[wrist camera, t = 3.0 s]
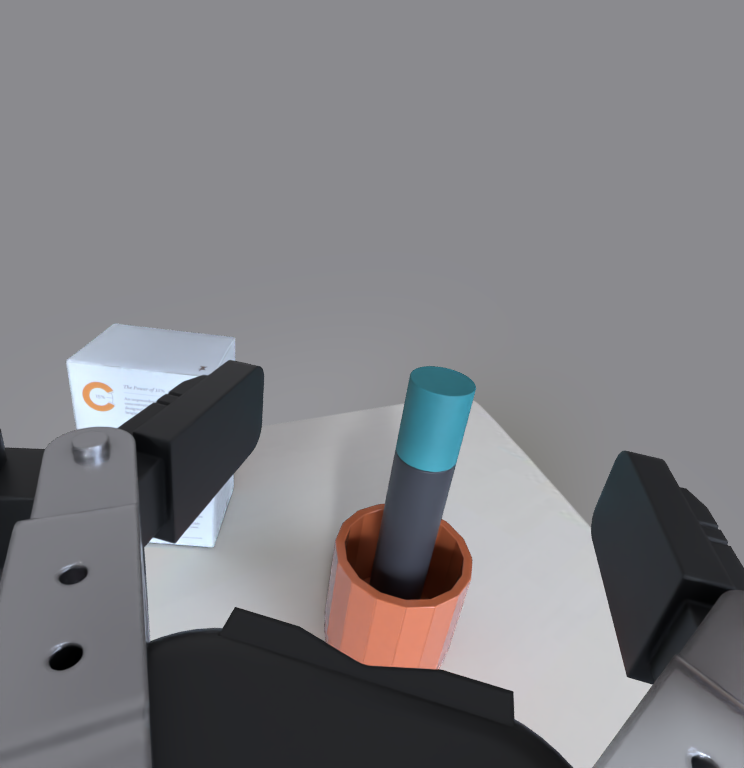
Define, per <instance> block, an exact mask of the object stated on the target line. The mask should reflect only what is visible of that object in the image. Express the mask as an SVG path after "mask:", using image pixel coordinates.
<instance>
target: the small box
mask: <svg viewBox="0 0 744 768" xmlns="http://www.w3.org/2000/svg"><path fill="white" fill-rule="evenodd" d="M228 360H234V361H235V338H234V337H228V336H219V335H210V334H202V333H193V332H184V331H175V330H166V329H157V328H148V327H139V326H132V325H123V324H116V323H115V324H113V325H111V326H110V327H109V328H108V329H106V330H105V331H104V332H102V333H101V334H100V335H99V336H97V337H96V338H95V339H93V340H92V341H91V342H90V343H88V344H87V345H86V346H84V347H83V348H82V349H81V350H79V351H78V352H76V353H75V354H74V355H73V356H71V357H70V358H69V359H67V360H66V365H67V370H68V377H69V383H70V389H71V397H72V404H73V411H74V418H75V425H76V430H78V429H82V428H88V427H100V426H101V427H114V428H118V427H119V426H121V425H122V424H124V423H125V422H126V421H128V420H129V419H131V418H132V417H133V416H135V415H136V414H138V413H139V412H141V411H142V410H143V409H145V408H146V407H148V406H149V405H150V404H152V403H153V402H154V403H156V401H157V400H158V399H159V398H160V397H162V396H163V395H165V394H168V393H169V391H170V390H172V389H173V388H175V387H176V386H177V385H179V384H180V383H182V382H183V381H186V380H189V379H192V378H195V377H198V376H201V375H209V374H211V373H212V372H213V371H215V370H216V369H217V368H219V367H220V366H221V365H223V364H224V363H225V362H227V361H228ZM233 487H234V474H233V475H232V476H231V478H230V479H229V480H228V481H227V482H226V484H225V485H224V486H223V487H222V488H221V490H220V491H219V492H218V493H217V494H216V496H215V497H214V498H213V499H212V500H211V502H210V503H209V504H208V505H207V506H206V508H205V509H204V510H203V511H202V512H201V514H200V515H199V516H198V517H197V518H196V520H195V521H194V522H193V523H192V524H191V525H190V527H189V528H188V529H187V530H186V531H185V533H184V534H183V535H182V536H181V537H180V539H179V540H178V541H177V542H176V543H175V544H178V545H190V546H204V547H214V545H215V542H216V539H217V536H218V533H219V530H220V527H221V524H222V521H223V518H224V515H225V512H226V509H227V506H228V503H229V500H230V497H231V494H232V492H233ZM149 542H150V543H163V544H173V543H170V542H167V541H163V540H160V539H156V538H152V539H151V540H150V541H149Z"/></svg>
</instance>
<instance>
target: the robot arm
mask: <svg viewBox="0 0 744 768" xmlns="http://www.w3.org/2000/svg"><path fill="white" fill-rule="evenodd" d="M263 390H264V372H263V369H262V368H261V367H260V366H256V365H251V364H247V363H242V362H237V361H234V360H228V361H227V362H225V363H224V364H223V365H221V366H220V367H219V368H217V369H216V370H215V371H213V372H212V373H211V374H209V375H201V376H198V377H195V378H192V379H189V380H186V381H183V382H182V383H180V384H179V385H177V386H176V387H175V388H173V389H172V390H170V391H169V393H168V394H165V395H163V396H162V397H160V398H159V399H158V400H157V401H156V403H154V402H153V403H152V404H150V405H149V406H148V407H146V408H145V409H143V410H142V411H141V412H139V413H138V414H136V415H135V416H133V417H132V418H131V419H129V420H128V421H126V422H125V423H124V424H122V425H121V426H119V427H118V428H114V427H101V426H100V427H88V428H82V429H78V430H74V431H71V432H68V433H66V434H63V435H61V436H60V437H57V438H56V439H55V440H53V441H52V442H51V443H50V444H49V445H48V446H47V447H46V449H28V448H27V449H26V448H5V447H4V442H3V438H2V433H1V429H0V768H573V767H572V766H571V765H570V764H569V763H568V762H567V761H566V760H565V759H564V758H563V757H562V756H561V755H560V753H559V752H557V751H556V750H555V749H554V748H553V747H552V746H551V745H549V744H548V743H547V742H546V741H545V740H544V739H543V738H541V737H540V736H539V735H537V734H536V733H535V732H533V731H532V730H531V729H529V728H528V727H526V726H525V725H523V724H522V723H520V722H518V721H517V720H515V719H514V698H513V691H510V690H506V689H503V688H500V687H497V686H493V685H490V684H487V683H483V682H480V681H477V680H473V679H470V678H467V677H464V676H460V675H457V674H454V673H450V672H447V671H444V670H440V669H422V668H404V667H386V666H370V665H365V664H362V663H360V662H358V661H356V660H354V659H353V658H351V657H349V656H348V655H346V654H344V653H343V652H341V651H339V650H338V649H336V648H334V647H333V646H331V645H329V644H328V643H326V642H324V641H323V640H321V639H319V638H318V637H316V636H314V635H313V634H311V633H309V632H308V631H306V630H304V629H303V628H301V627H299V626H296V625H293V624H289V623H286V622H283V621H280V620H276V619H273V618H270V617H266V616H263V615H260V614H257V613H253V612H250V611H247V610H243V609H240V608H237V607H235V608H234V610H233V612H232V613H231V615H230V617H229V618H228V620H227V622H226V624H225V625H224V627H223V628H207V629H195V630H189V631H183V632H178V633H175V634H171V635H167V636H164V637H160V638H158V639H155V640H153V641H150V629H149V614H148V598H147V582H146V566H145V552H144V547H145V546H146V545H147V544H148V543H149V541H150V540H151V539H152V538H156V539H160V540H163V541H167V542H170V543H173V544H175V543H176V542H177V541H178V540H179V539H180V537H181V536H182V535H183V534H184V533H185V531H186V530H187V529H188V528H189V527H190V525H191V524H192V523H193V522H194V521H195V520H196V518H197V517H198V516H199V515H200V514H201V512H202V511H203V510H204V509H205V508H206V506H207V505H208V504H209V503H210V502H211V500H212V499H213V498H214V497H215V496H216V494H217V493H218V492H219V491H220V490H221V488H222V487H223V486H224V485H225V484H226V482H227V481H228V480H229V479H230V478H231V476H232V475H233V474H234V473H235V472H236V470H237V469H238V468H239V467H240V466H241V465H242V463H243V462H244V461H245V460H246V459H247V457H248V456H249V455H250V454H251V453H252V451H253V450H254V448H255V447H256V445H257V442H258V440H259V437H260V433H261V428H262V411H263ZM591 536H592V541H593V545H594V549H595V553H596V557H597V560H598V564H599V568H600V572H601V576H602V580H603V584H604V588H605V592H606V596H607V600H608V604H609V608H610V612H611V616H612V620H613V623H614V627H615V631H616V635H617V639H618V643H619V647H620V651H621V655H622V659H623V663H624V667H625V671H626V675H627V677H629V678H632V679H635V680H639V681H642V682H646V683H649V684H653V685H652V687H651V688H650V689H649V691H648V692H647V694H646V695H645V696H644V698H643V699H642V700H641V702H640V703H639V705H638V706H637V707H636V709H635V710H634V711H633V713H632V714H631V716H630V717H629V718H628V720H627V721H626V722H625V724H624V725H623V726H622V728H621V729H620V731H619V732H618V733H617V735H616V736H615V737H614V739H613V740H612V742H611V743H610V744H609V746H608V747H607V748H606V750H605V751H604V753H603V754H602V755H601V757H600V758H599V759H598V761H597V762H596V764H595V765H594V766H593V768H744V568H743V566H742V564H741V563H740V561H739V559H738V558H737V556H736V554H735V553H734V551H733V550H732V548H731V546H728V545H727V544H728V541H727V540H726V538H725V536H724V535H723V533H722V531H721V530H719V529H718V525H717V523H716V522H715V520H714V518H713V517H712V515H711V513H710V512H709V510H708V509H707V507H706V506H705V505H704V504H702V503H701V502H700V501H699V500H698V499H697V498H696V497H695V496H694V495H693V494H692V493H690V492H689V491H688V490H687V489H685V488H680V487H679V486H678V484H677V482H676V480H675V478H674V477H673V475H672V473H671V471H670V470H669V468H668V466H667V464H666V463H665V461H664V460H663V459H659V458H655V457H650V456H646V455H642V454H637V453H633V452H629V451H622V452H621V453H620V454H619V455H618V457H617V458H616V460H615V463H614V465H613V467H612V470H611V472H610V474H609V477H608V479H607V481H606V484H605V486H604V489H603V491H602V493H601V496H600V498H599V500H598V503H597V505H596V507H595V510H594V513H593V518H592V524H591Z"/></svg>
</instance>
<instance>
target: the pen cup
mask: <svg viewBox="0 0 744 768" xmlns="http://www.w3.org/2000/svg"><path fill="white" fill-rule="evenodd" d="M384 506H385V504H378V505H374V506H371V507H368V508H365V509H361V510H359V511H357V512H356V513H355V514H353V515H352V516H351V517H350V518H348V519H347V520H346V521H345V522H343V524H342V526H341V528H340V531H339V533H338V535H337V538H336V540H335V547H334V553H333V560H332V567H331V574H330V581H329V588H328V595H327V602H326V608H325V624H324V632H325V638H326V642H327V643H328V644H329V645H331V646H333V647H334V648H336V649H338V650H339V651H341V652H343V653H344V654H346V655H348V656H349V657H351V658H353V659H354V660H356V661H358V662H360V663H362V664H365V665H370V666H386V667H404V668H422V669H439V668H440V666H441V664H442V663H443V661H444V658H445V655H446V653H447V651H448V649H449V646H450V643H451V640H452V637H453V634H454V631H455V628H456V624H457V621H458V618H459V615H460V612H461V609H462V606H463V603H464V599H465V596H466V593H467V590H468V587H469V584H470V581H471V574H472V557H471V554H470V552H469V550H468V548H467V545H466V543H465V541H464V539H463V538H462V537H461V536H460V535H459V534H458V533H457V532H456V531H455V530H454V528H453V527H452V526H451V525H450V524H449V523H447V522H446V521H444V520H443V519H441V523H440V526H439V530H438V534H437V538H436V542H435V545H434V549H433V553H432V557H431V561H430V564H429V568H428V572H427V576H426V579H425V583H424V587H423V591H422V595H421V598H420V599H415V600H405V599H401V598H398V597H395V596H391V595H388V594H384V593H381V592H379V591H378V590H376V589H375V588H373V587H372V586H370V585H369V583H370V578H371V573H372V567H373V562H374V557H375V552H376V547H377V542H378V537H379V532H380V527H381V521H382V516H383V511H384Z"/></svg>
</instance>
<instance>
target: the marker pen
mask: <svg viewBox="0 0 744 768" xmlns="http://www.w3.org/2000/svg"><path fill="white" fill-rule="evenodd" d="M475 390H476V386H475V384H474V382H473V381H472V380H471V379H470V378H469V377H467V376H466V375H464V374H462V373H460V372H457V371H454V370H451V369H447V368H443V367H435V366H426V367H420V368H417V369H415V370H413V371H412V372H411V374H410V379H409V384H408V389H407V394H406V399H405V404H404V409H403V414H402V419H401V424H400V429H399V435H398V440H397V445H396V450H395V455H394V460H393V465H392V470H391V475H390V481H389V486H388V491H387V496H386V501H385V506H384V511H383V516H382V521H381V527H380V532H379V537H378V542H377V547H376V552H375V557H374V562H373V567H372V573H371V578H370V583H369V585H370V586H372V587H373V588H375V589H376V590H378V591H379V592H381V593H384V594H388V595H391V596H395V597H398V598H401V599H405V600H415V599H420V598H421V595H422V591H423V587H424V583H425V579H426V576H427V572H428V568H429V564H430V561H431V557H432V553H433V549H434V545H435V542H436V538H437V534H438V530H439V526H440V523H441V519H442V515H443V511H444V508H445V504H446V500H447V496H448V492H449V489H450V485H451V481H452V477H453V474H454V470H455V466H456V462H457V458H458V455H459V451H460V447H461V443H462V440H463V436H464V432H465V428H466V424H467V421H468V417H469V413H470V409H471V405H472V402H473V398H474V394H475Z"/></svg>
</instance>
